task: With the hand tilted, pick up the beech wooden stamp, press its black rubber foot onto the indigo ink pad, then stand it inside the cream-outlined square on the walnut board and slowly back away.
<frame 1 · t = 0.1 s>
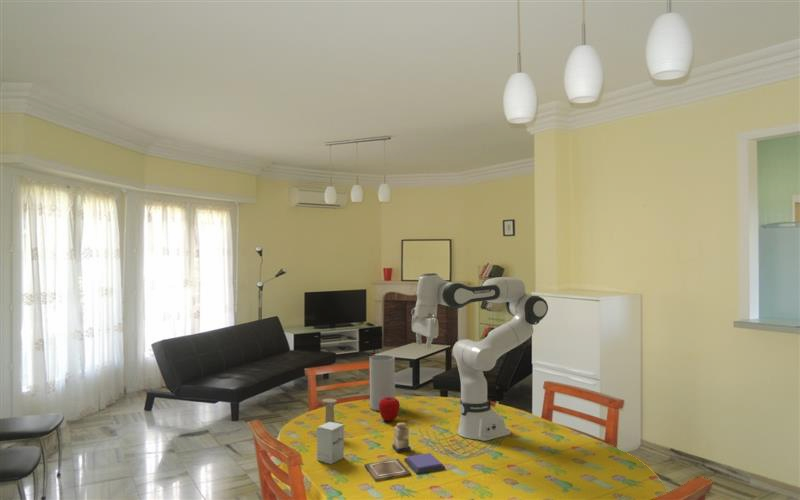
hand: (423, 346, 209), 39 cm above the table, tool pointing down, fingers open, 8 cm apart
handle: (329, 436, 216), on the table
apple: (389, 420, 235), on the table
ink pad: (424, 465, 185), on the table
cylinder vase: (382, 408, 254), on the table
marked board: (387, 470, 181), on the table
supplement box: (330, 459, 191), on the table
wooden stamp: (401, 449, 200), on the table
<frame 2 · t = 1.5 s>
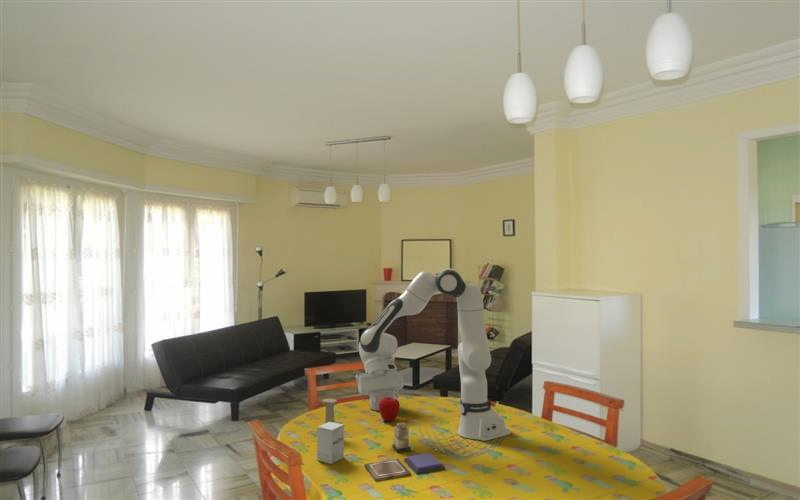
hand: (386, 400, 211), 16 cm above the table, tool tilted 45°, fingers open, 8 cm apart
nothing on the table moved.
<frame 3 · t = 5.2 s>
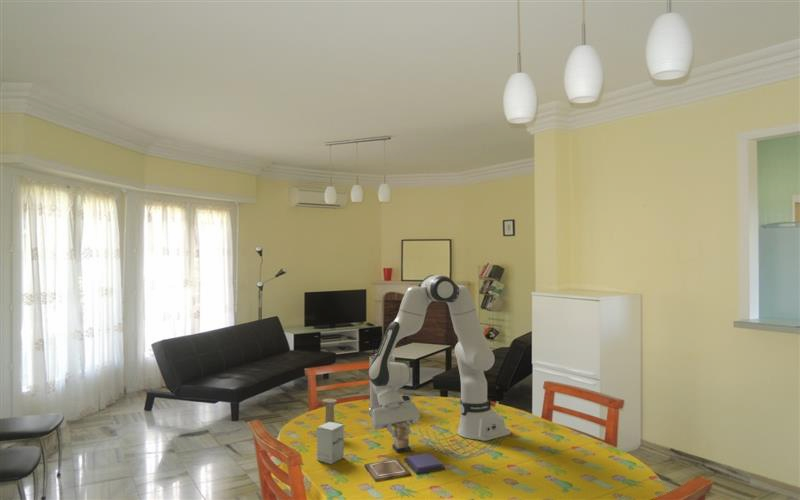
hand: (402, 434, 199), 6 cm above the table, tool tilted 45°, fingers closed on wooden stamp, 5 cm apart
wooden stamp: (401, 449, 200), on the table, touching gripper
everything else where it was.
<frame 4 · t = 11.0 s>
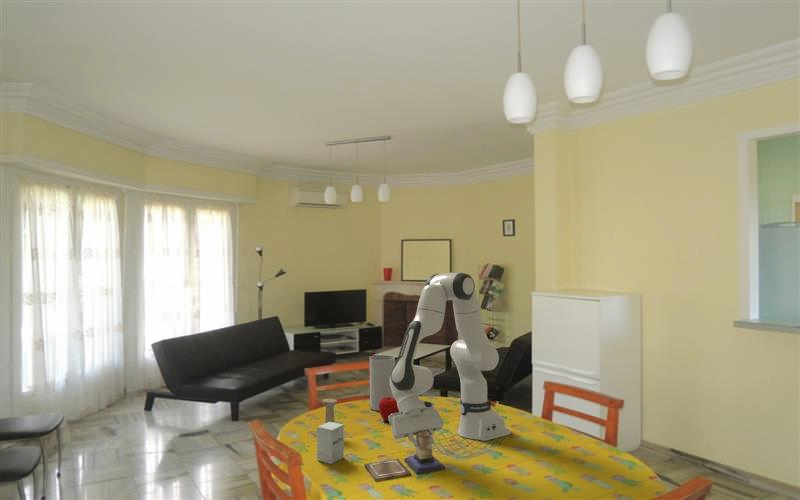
hand: (424, 444, 184), 8 cm above the table, tool tilted 45°, fingers closed on wooden stamp, 5 cm apart
wooden stamp: (424, 460, 185), point 2 cm above the table, touching gripper, ink pad
everything else where it was.
when the fingers open (7 cm above the table, at t = 16.7 s): wooden stamp stays where it is, resting on marked board.
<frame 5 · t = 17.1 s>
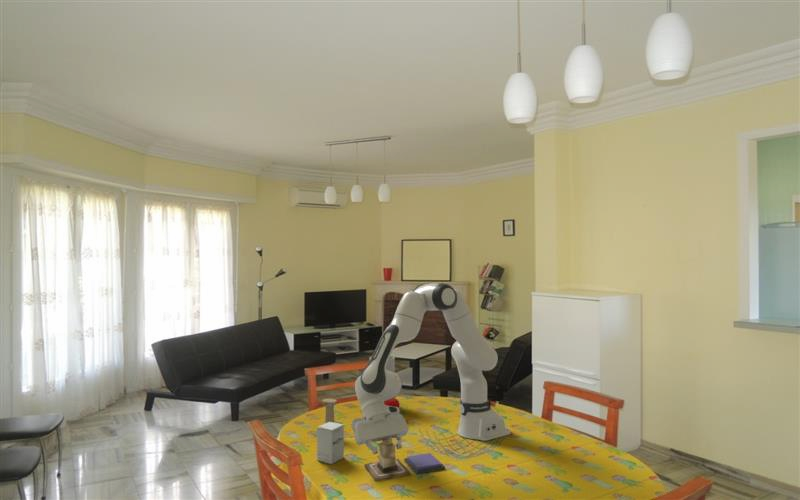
hand: (387, 450, 180), 7 cm above the table, tool tilted 45°, fingers open, 8 cm apart
wooden stamp: (387, 468, 181), point 1 cm above the table, touching marked board
everything else where it was.
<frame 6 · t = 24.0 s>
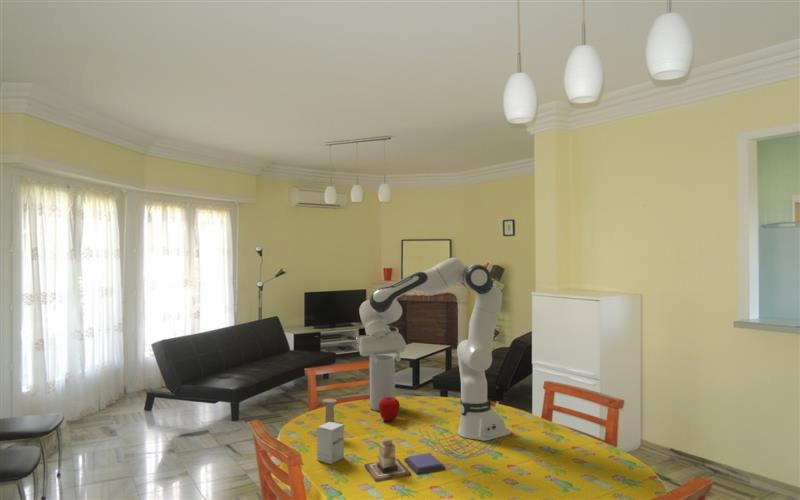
hand: (388, 361, 205), 33 cm above the table, tool tilted 45°, fingers open, 8 cm apart
nothing on the table moved.
at the end: wooden stamp 0.1 cm off-centre on the marked board, point 0.8 cm above the marked board's base; wooden stamp tilted 0°; the gripper is holding nothing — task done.
